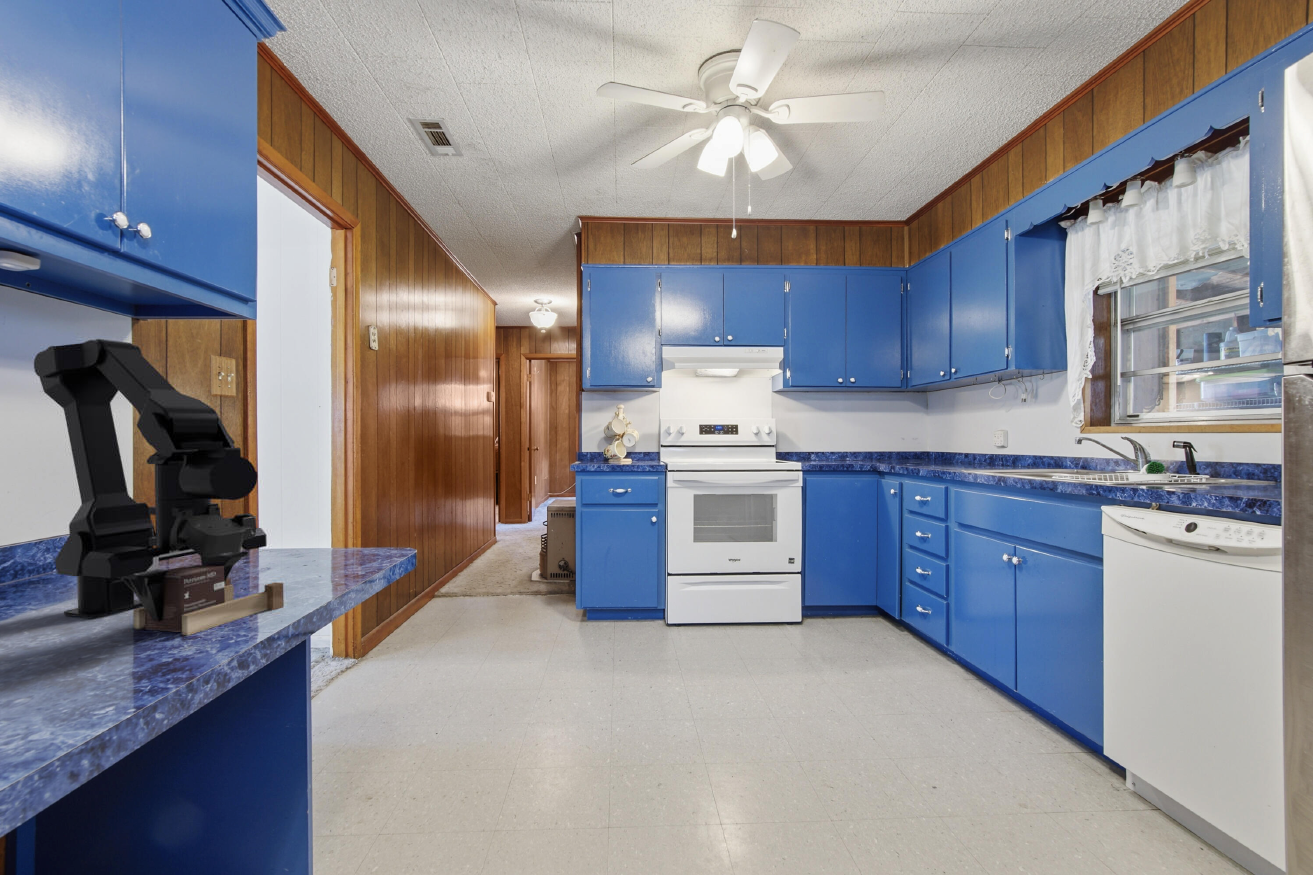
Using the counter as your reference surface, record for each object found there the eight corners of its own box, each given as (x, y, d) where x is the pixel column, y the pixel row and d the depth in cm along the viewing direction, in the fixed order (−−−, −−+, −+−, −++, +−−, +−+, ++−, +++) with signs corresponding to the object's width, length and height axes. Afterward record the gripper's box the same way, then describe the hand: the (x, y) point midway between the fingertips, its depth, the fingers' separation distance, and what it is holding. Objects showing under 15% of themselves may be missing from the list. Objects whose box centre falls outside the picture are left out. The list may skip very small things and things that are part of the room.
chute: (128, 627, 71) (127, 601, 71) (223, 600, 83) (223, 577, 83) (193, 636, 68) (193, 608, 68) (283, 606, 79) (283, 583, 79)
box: (179, 633, 69) (178, 576, 69) (143, 630, 70) (142, 574, 70) (226, 617, 75) (225, 565, 75) (192, 614, 76) (191, 563, 76)
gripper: (141, 509, 61) (144, 645, 61) (294, 491, 79) (295, 596, 79) (78, 506, 64) (80, 635, 64) (238, 490, 82) (240, 591, 82)
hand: (186, 612), depth 72 cm, fingers closed on box, 6 cm apart
